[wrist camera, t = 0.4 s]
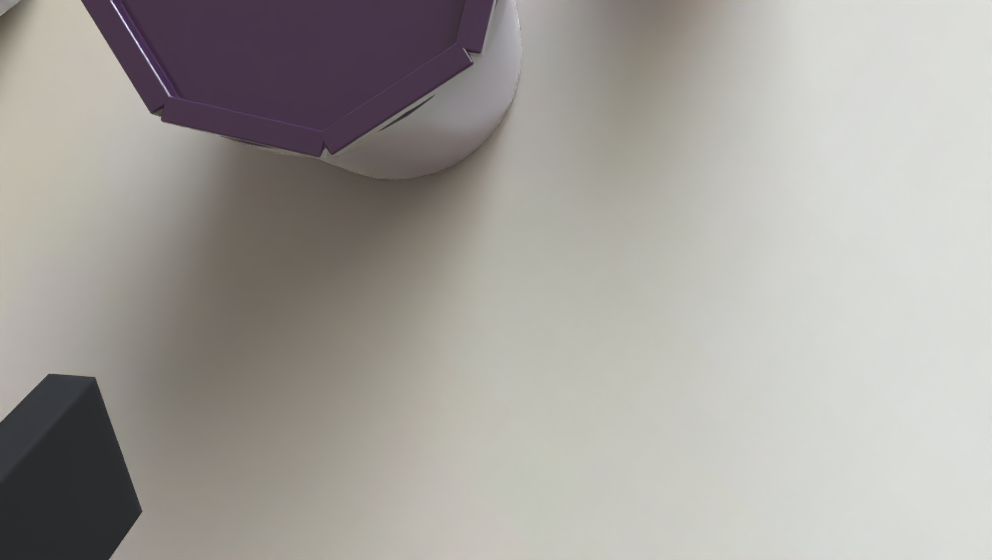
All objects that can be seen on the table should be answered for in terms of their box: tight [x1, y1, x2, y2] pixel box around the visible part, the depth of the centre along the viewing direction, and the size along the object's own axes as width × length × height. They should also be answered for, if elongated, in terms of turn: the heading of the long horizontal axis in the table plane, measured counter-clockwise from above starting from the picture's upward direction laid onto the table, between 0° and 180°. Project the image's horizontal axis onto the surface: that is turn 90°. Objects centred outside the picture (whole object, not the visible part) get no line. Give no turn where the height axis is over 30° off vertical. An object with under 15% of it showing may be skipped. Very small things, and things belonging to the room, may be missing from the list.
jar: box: [81, 0, 522, 179], centre depth 26 cm, size 10×10×13 cm
